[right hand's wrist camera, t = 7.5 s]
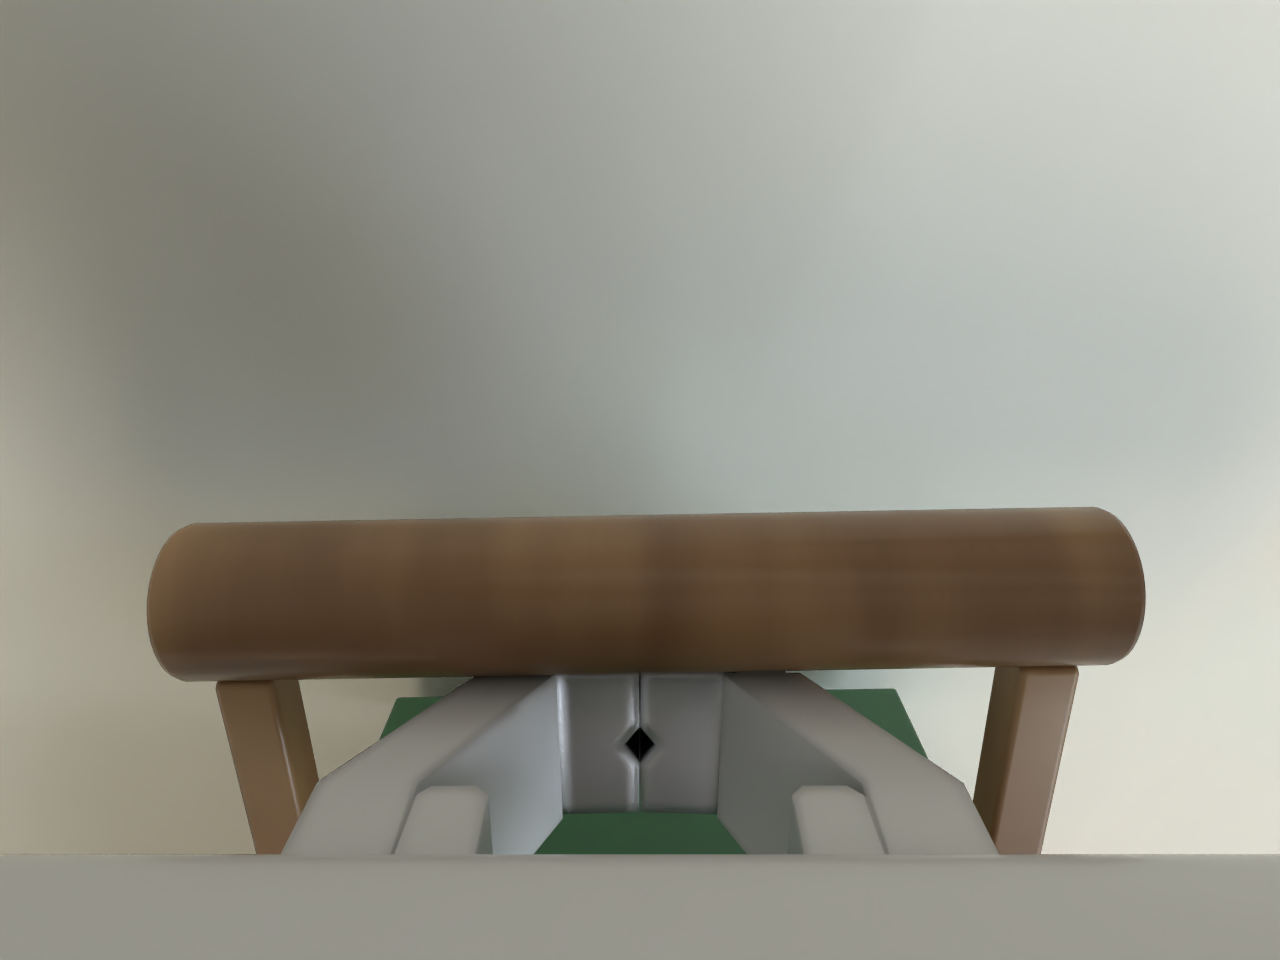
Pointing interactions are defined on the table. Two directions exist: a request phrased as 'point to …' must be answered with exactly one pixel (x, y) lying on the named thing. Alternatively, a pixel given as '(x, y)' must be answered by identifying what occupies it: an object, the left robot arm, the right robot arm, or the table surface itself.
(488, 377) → the table surface
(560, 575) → the drawer
